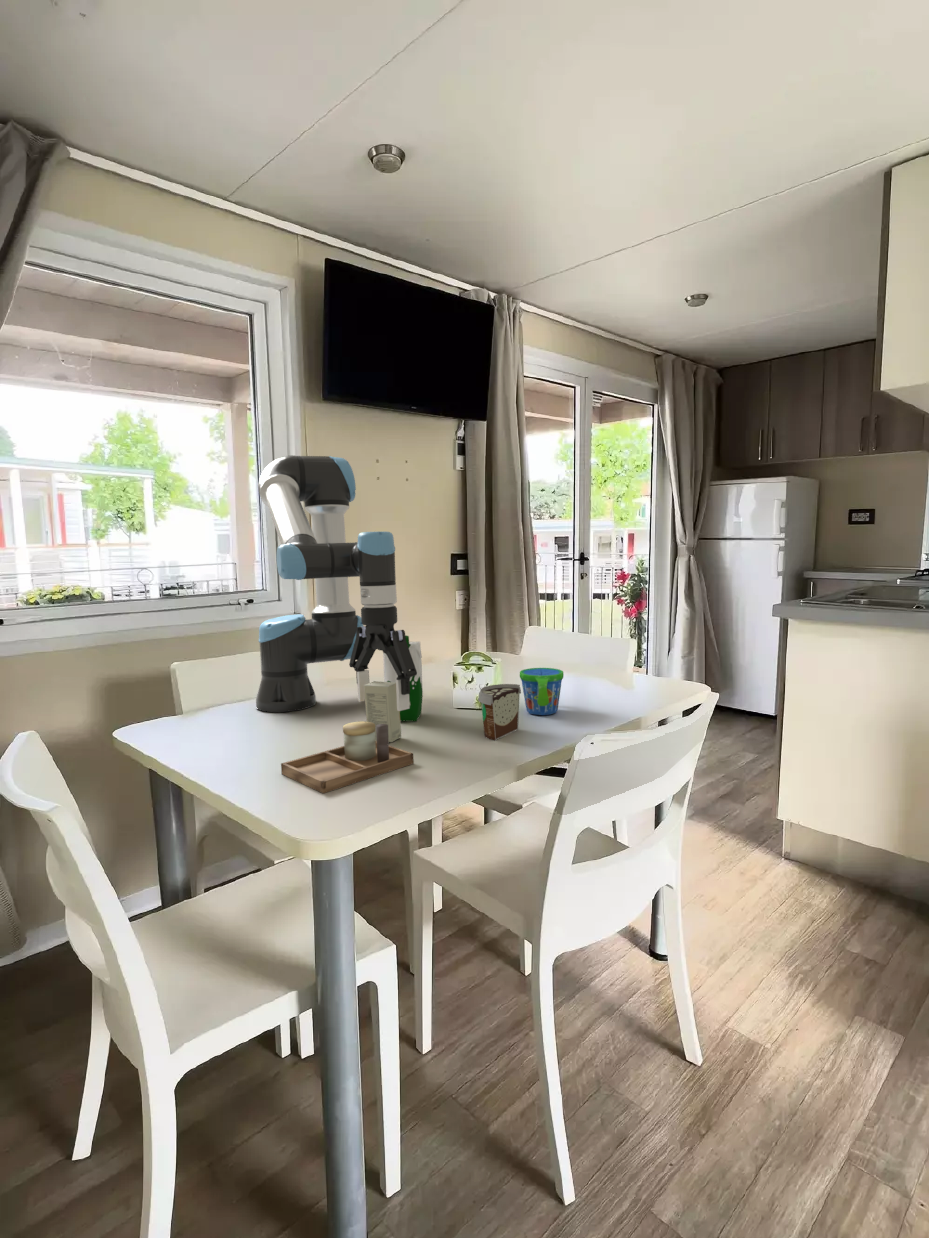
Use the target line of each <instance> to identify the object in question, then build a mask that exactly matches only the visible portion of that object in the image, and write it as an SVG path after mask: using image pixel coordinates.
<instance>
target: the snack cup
mask: <svg viewBox="0 0 929 1238" xmlns="http://www.w3.org/2000/svg"><path fill="white" fill-rule="evenodd" d="M519 678H520V681H521V685H522V693H523V697H524V704H525V709H526V711H527V712H528V714H531V715H535V716H550V715H553V714H556V713H557V712H558V710H559V703H560V698H561V689H562V682H563V679H564V671H563V670H561V669H560V668H559V669H558V668H554V667H553V668H551V667H533V668H532V667H531V668H525V669H522V670H520V671H519Z"/></svg>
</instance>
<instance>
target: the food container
mask: <svg viewBox="0 0 929 1238" xmlns="http://www.w3.org/2000/svg"><path fill="white" fill-rule="evenodd" d="M520 694H522V691H521V684H516V683H515V684H514V683H500V684H491V685H487V686H483V687H481V689H480V691H479V692H478V698H477V701H478V702H479V703H480V705H481V715H482V722H483V732H484V733H483V734H484V737H485V738H486V737H487V739H488V738H489V739H488V740H491V741H495V740H496V741H498V740H500V739H502V738H503V736H504V737H506V736H508V735H510V734H512V733H514V732H516V731H518V730H519V718H520V717H519V715H520V714H519V713H520V711H519V710H520ZM515 730H516V731H515ZM513 731H514V732H513ZM511 732H512V733H511ZM509 733H510V734H509ZM507 734H508V735H507ZM505 735H506V736H505ZM501 737H502V738H501ZM499 738H500V739H499ZM497 739H498V740H497Z"/></svg>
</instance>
